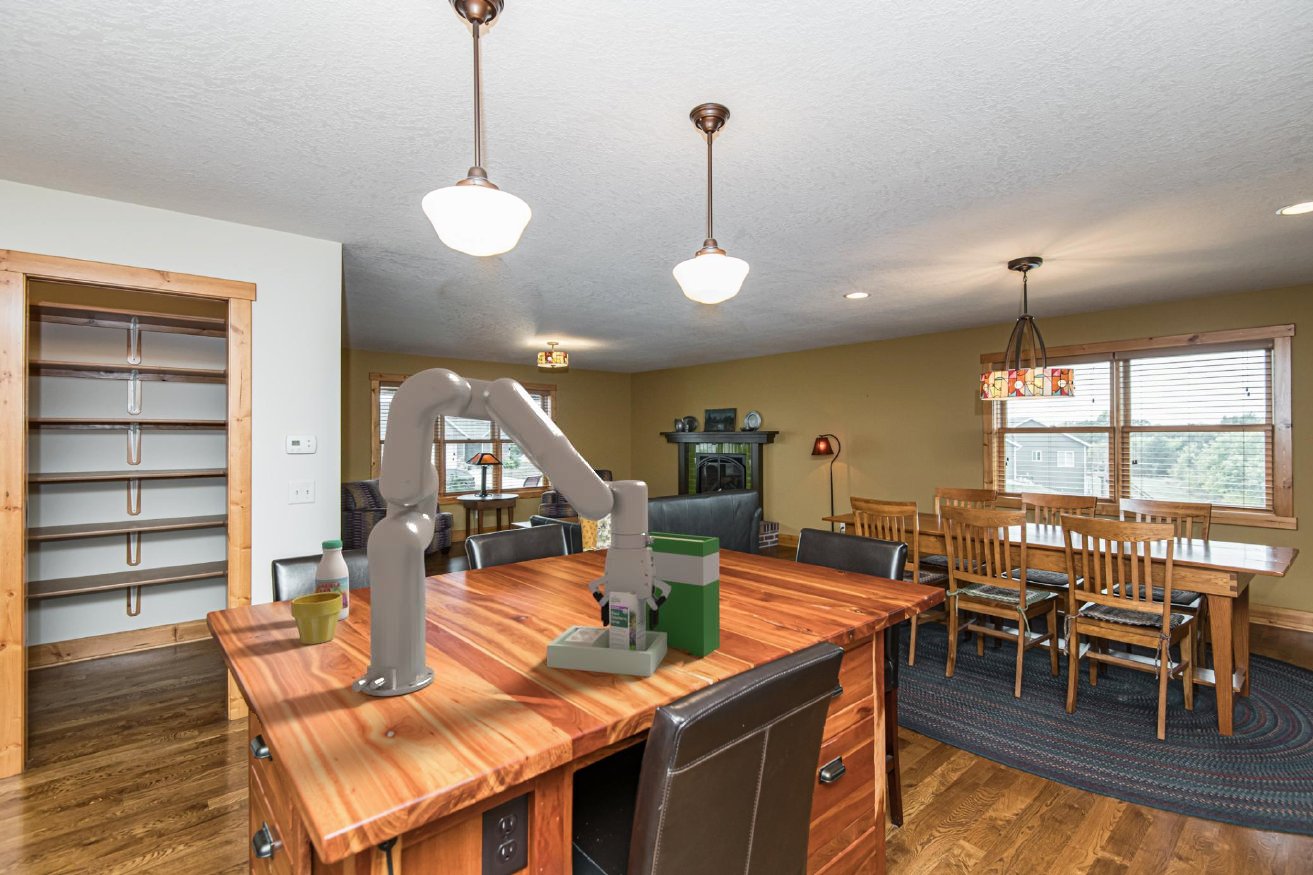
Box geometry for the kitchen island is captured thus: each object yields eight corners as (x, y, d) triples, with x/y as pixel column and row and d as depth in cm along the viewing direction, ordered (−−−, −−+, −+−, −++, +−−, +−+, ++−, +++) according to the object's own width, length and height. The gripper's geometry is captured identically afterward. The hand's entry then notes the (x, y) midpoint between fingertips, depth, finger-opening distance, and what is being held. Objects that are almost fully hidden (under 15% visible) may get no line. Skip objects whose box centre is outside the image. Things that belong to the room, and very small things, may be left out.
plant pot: (279, 645, 133) (279, 601, 133) (318, 631, 143) (318, 590, 143) (315, 649, 130) (316, 604, 130) (353, 635, 140) (353, 593, 140)
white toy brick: (592, 665, 117) (592, 639, 117) (564, 662, 119) (564, 636, 119) (606, 651, 125) (605, 627, 125) (579, 649, 126) (579, 625, 127)
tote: (650, 680, 112) (650, 654, 112) (546, 670, 117) (546, 645, 117) (667, 656, 124) (666, 632, 124) (572, 648, 130) (572, 625, 130)
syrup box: (608, 664, 118) (607, 591, 118) (622, 654, 123) (621, 584, 124) (633, 668, 116) (633, 593, 116) (646, 658, 121) (646, 587, 121)
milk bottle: (316, 616, 155) (316, 540, 155) (349, 613, 158) (349, 538, 159) (313, 624, 148) (313, 544, 148) (348, 620, 151) (348, 542, 152)
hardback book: (634, 643, 133) (633, 536, 133) (652, 634, 139) (651, 532, 140) (703, 657, 124) (703, 542, 124) (719, 647, 130) (719, 537, 130)
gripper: (675, 540, 121) (675, 624, 121) (595, 537, 126) (595, 618, 125) (666, 546, 114) (667, 635, 114) (582, 542, 118) (582, 629, 118)
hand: (629, 626), depth 120 cm, fingers open, 9 cm apart
